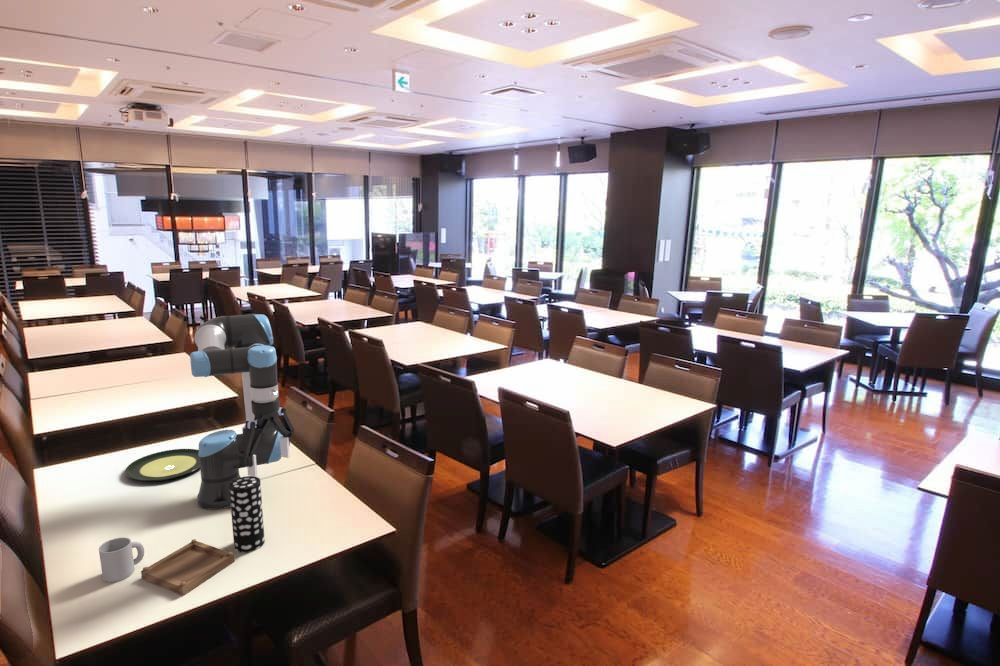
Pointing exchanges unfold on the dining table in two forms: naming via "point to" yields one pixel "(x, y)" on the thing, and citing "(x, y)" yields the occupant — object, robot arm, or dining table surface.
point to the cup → (119, 558)
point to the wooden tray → (187, 567)
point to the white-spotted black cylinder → (246, 513)
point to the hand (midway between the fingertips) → (269, 465)
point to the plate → (164, 465)
